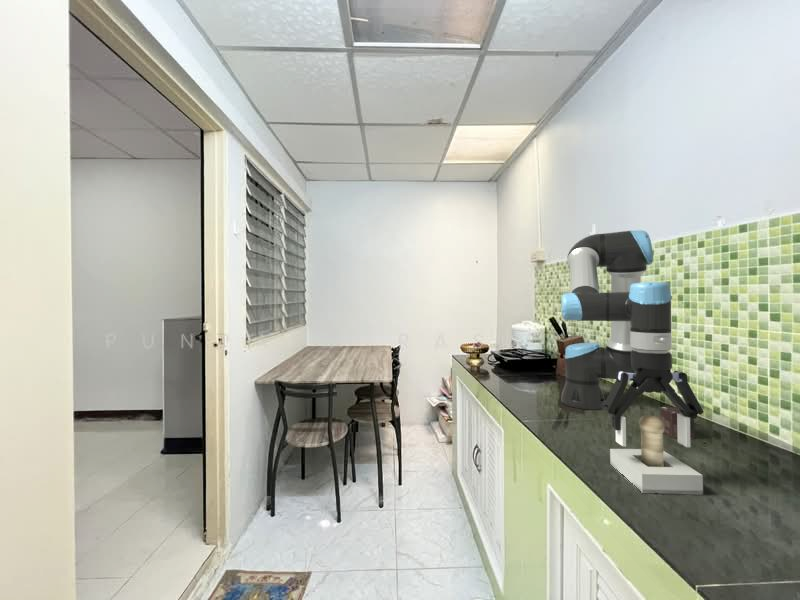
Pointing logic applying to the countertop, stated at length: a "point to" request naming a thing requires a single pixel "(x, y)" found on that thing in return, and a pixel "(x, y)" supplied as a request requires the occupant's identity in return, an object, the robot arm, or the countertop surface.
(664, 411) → the box
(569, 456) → the countertop surface
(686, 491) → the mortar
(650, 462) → the pestle
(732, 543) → the countertop surface
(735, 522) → the countertop surface
